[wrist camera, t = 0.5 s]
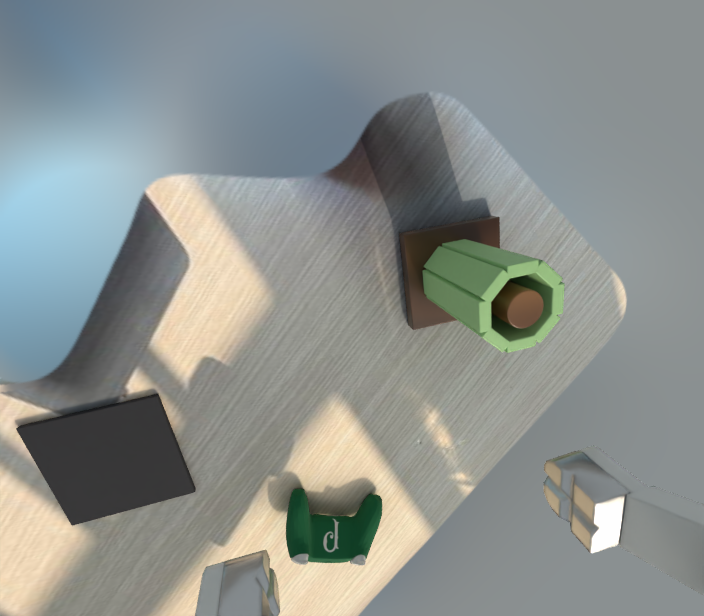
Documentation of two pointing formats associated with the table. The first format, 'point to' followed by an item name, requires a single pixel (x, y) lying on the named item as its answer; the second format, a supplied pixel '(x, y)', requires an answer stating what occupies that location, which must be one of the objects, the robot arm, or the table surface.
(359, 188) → the table surface
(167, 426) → the mat
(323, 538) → the gaming controller
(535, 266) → the green octagonal tube
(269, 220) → the table surface
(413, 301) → the stand
